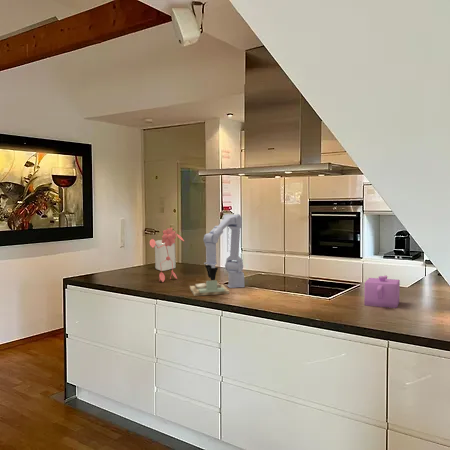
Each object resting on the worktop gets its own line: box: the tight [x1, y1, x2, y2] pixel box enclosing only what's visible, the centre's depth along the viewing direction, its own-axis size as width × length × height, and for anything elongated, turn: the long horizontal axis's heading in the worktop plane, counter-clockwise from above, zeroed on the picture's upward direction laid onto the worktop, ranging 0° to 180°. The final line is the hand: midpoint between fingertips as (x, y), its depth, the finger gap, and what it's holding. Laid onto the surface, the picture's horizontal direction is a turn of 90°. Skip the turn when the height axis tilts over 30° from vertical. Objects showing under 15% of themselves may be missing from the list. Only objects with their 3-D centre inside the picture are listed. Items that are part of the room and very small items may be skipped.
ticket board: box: [189, 282, 230, 297], centre depth 274 cm, size 20×20×3 cm
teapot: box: [363, 275, 401, 309], centre depth 238 cm, size 15×25×14 cm, turn 154°
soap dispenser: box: [154, 239, 177, 272], centre depth 352 cm, size 15×14×22 cm
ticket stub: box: [199, 279, 225, 293], centre depth 265 cm, size 14×5×6 cm, turn 101°
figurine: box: [149, 227, 185, 284], centre depth 303 cm, size 15×26×35 cm, turn 136°
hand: (211, 278), depth 263 cm, fingers open, 7 cm apart
